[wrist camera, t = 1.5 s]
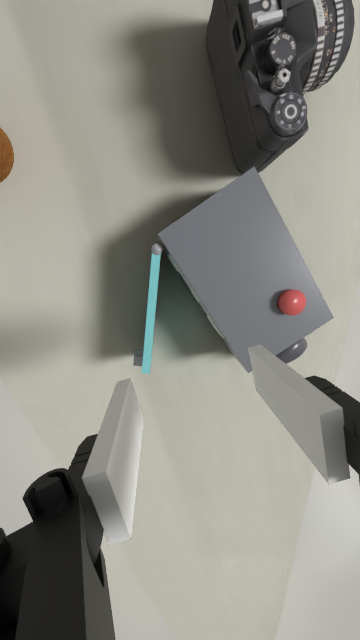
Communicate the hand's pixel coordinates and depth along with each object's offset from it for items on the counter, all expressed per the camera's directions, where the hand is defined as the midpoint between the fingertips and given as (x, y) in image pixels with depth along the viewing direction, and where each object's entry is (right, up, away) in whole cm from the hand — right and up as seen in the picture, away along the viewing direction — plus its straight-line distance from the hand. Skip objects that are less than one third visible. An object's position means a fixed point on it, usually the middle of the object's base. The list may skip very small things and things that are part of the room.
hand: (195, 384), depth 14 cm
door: (-5, +6, +15) cm, 17 cm away
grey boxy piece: (+6, +8, +16) cm, 19 cm away
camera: (+8, +27, +13) cm, 31 cm away
